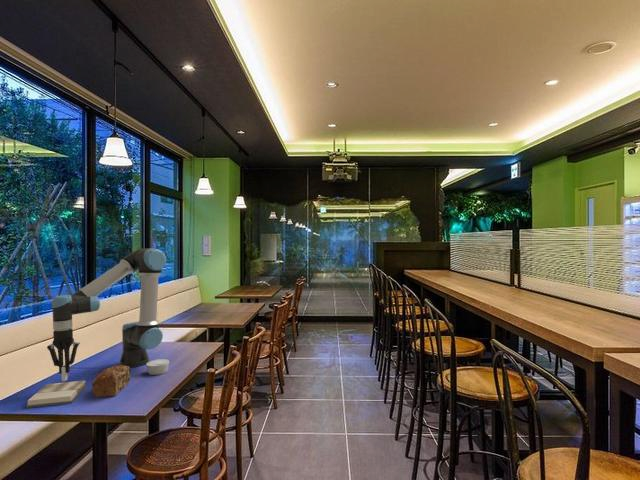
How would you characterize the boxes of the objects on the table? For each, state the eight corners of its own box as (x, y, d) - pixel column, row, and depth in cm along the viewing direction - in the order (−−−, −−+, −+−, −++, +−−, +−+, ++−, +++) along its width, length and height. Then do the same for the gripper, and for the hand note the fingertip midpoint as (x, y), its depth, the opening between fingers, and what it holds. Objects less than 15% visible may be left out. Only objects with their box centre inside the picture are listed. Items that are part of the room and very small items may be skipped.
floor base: (86, 386, 189) (86, 380, 189) (72, 403, 170) (72, 395, 170) (46, 390, 185) (46, 383, 185) (26, 408, 165) (26, 400, 165)
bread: (116, 397, 176) (116, 374, 176) (90, 398, 175) (90, 375, 175) (131, 382, 194) (131, 361, 194) (108, 383, 193) (108, 362, 193)
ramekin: (146, 377, 201) (146, 366, 201) (146, 370, 211) (146, 360, 211) (169, 373, 205) (169, 363, 205) (168, 367, 215) (168, 357, 215)
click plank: (85, 384, 188) (85, 380, 188) (77, 393, 178) (77, 388, 178) (47, 388, 184) (46, 384, 184) (36, 397, 174) (36, 393, 174)
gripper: (43, 332, 178) (45, 384, 178) (76, 329, 181) (77, 381, 182) (50, 328, 185) (51, 378, 186) (81, 326, 189) (83, 375, 189)
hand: (64, 379), depth 184 cm, fingers closed
